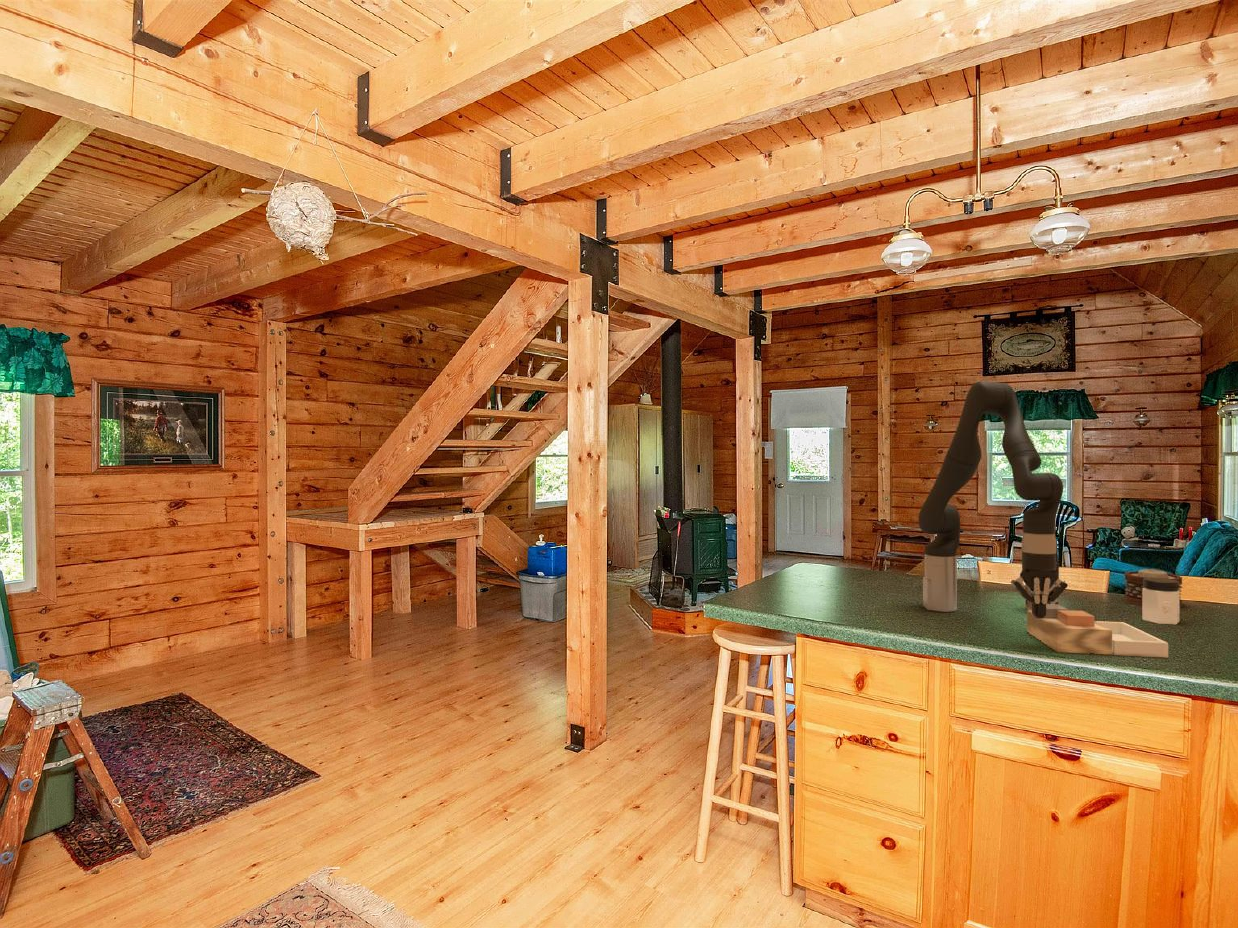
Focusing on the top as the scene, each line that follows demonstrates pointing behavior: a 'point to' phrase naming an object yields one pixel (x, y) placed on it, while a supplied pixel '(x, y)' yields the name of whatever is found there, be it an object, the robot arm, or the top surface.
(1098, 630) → the board
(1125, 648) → the box
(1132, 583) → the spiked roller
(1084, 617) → the terracotta tile
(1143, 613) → the jar
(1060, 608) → the slate tile
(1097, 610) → the top surface
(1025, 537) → the robot arm
